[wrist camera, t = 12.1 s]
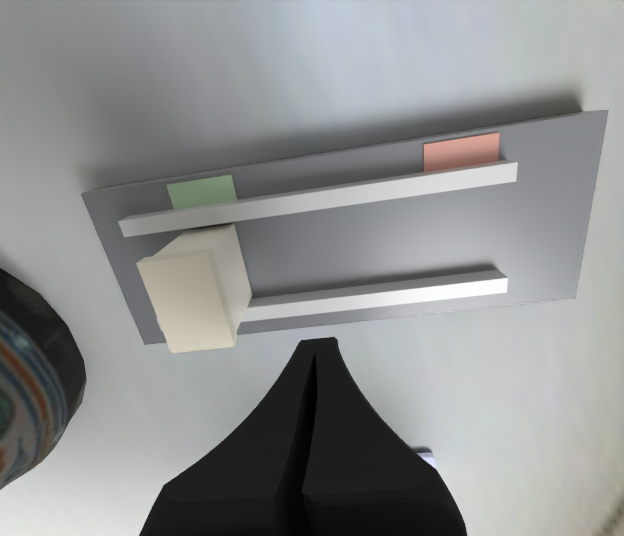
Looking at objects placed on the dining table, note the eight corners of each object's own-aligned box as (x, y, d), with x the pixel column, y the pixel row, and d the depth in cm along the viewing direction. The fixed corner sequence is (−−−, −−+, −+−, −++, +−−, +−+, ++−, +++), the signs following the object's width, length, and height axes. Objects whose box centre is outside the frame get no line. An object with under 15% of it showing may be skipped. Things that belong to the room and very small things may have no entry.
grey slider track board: (557, 285, 19) (589, 307, 17) (156, 330, 21) (135, 355, 19) (583, 111, 15) (628, 109, 13) (99, 188, 18) (66, 198, 15)
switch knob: (255, 296, 18) (234, 346, 14) (205, 302, 18) (171, 353, 14) (236, 221, 16) (207, 253, 12) (182, 229, 17) (135, 263, 13)
